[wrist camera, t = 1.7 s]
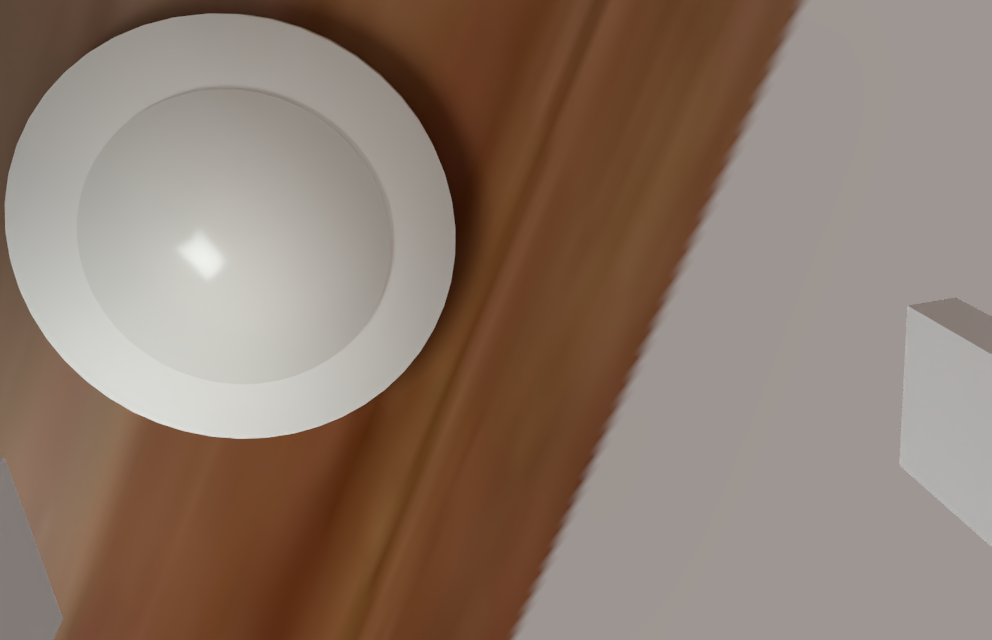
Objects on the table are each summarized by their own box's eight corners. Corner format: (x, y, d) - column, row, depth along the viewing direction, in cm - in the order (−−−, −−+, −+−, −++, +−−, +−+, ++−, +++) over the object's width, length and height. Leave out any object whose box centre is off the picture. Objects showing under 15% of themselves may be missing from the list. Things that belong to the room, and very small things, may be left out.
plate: (-80, 217, 30) (-100, 227, 29) (242, -90, 28) (236, -93, 27) (243, 495, 36) (239, 514, 34) (534, 250, 34) (541, 261, 32)
